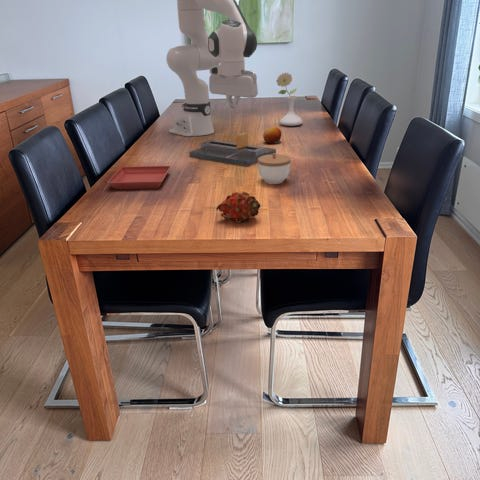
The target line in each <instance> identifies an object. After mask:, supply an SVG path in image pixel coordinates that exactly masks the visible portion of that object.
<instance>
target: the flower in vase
mask: <svg viewBox="0 0 480 480" xmlns="http://www.w3.org/2000/svg"><path fill="white" fill-rule="evenodd" d="M292 81H293V77H292V74H291V73H289V72H281V74H279V75H278V77H277V79H276V84H277V85H276V86H279V87H281V88H283V87H284V88H285V89H281V90H280V91H278V92H277V94H279V95H285V94H286V93H287V94H288V95H287V96H286V99H287V100H288V112H287V113H286V114H285V115H284V116H282V118H281V119H280V120H279V124H281V125H283V126H285V127H294V126H299V125H301V124H303V119H302V117H300V116H299V115H297V113H296V112H295V111H294V110H295V109H294V106H295V101H296V98H297V95H292V94H295V92H296V91H297V88H294V89H292V90H290V91H288V88H287V86H290V85H291V82H292Z"/></svg>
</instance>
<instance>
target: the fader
mask: <svg viewBox="0 0 480 480" xmlns="http://www.w3.org/2000/svg"><path fill="white" fill-rule="evenodd" d="M235 137H236V139H235V143H237V148H245V149H246V146H248V145H249V133H248V132H242V133H239V134H236V136H235Z"/></svg>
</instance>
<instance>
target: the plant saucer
mask: <svg viewBox="0 0 480 480" xmlns="http://www.w3.org/2000/svg"><path fill="white" fill-rule="evenodd" d="M171 168H172V167H171V166H170V165H156V166H155V165H153V166H151V165H150V166H148V165H147V166H145V165H144V166H120V168H119V169H117V171H116V172H115V173H114V174H113V175H112V176H111V177H110V179H108V181H107V183H108V184H109V186H111V187H112V188H114V189H115V190H130V189H131V190H135V189H137V190H138V189H159V188H160V186H161V185H162V184H163V182H164V179H165V178H166V176H167V175H168V173H169V172H170V170H171Z"/></svg>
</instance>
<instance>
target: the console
mask: <svg viewBox="0 0 480 480" xmlns="http://www.w3.org/2000/svg"><path fill="white" fill-rule="evenodd" d="M199 144H200V147H199V148H196V149H194V150H191V151H188V154H189V158H194V159H201V160H204V161H211V162H217V163H223V164H229V165H236V166H241V167H246V168H247V167H248V168H249V167H251V166H253V165H255V164H258V158H259V157H261V156H264V155H270V154H273V153H276V154H277V149H276V148H272V147H266V146H265V147H264V146H257V145H250V144H248V146H246V149H245V148H237V143H236V142H231V141H230V142H229V141H222V140H216V139H210V140H209V139H208V140H207V141H204V142H201V143H199Z"/></svg>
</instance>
